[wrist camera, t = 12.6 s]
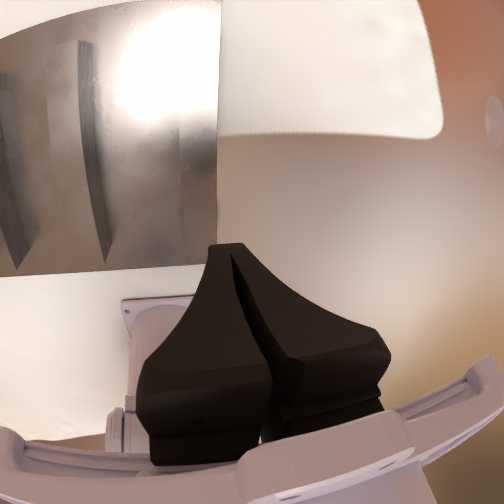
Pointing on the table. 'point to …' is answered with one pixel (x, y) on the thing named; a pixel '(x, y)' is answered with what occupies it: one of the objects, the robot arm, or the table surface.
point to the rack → (110, 139)
